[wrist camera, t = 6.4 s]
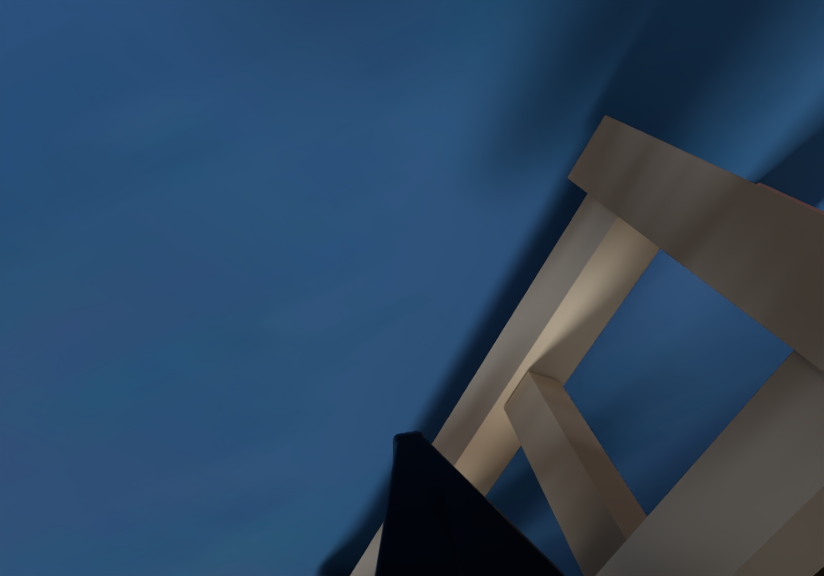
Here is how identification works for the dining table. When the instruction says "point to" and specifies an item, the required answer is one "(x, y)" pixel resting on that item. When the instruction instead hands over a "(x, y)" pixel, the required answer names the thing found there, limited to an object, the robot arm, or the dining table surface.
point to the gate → (584, 321)
